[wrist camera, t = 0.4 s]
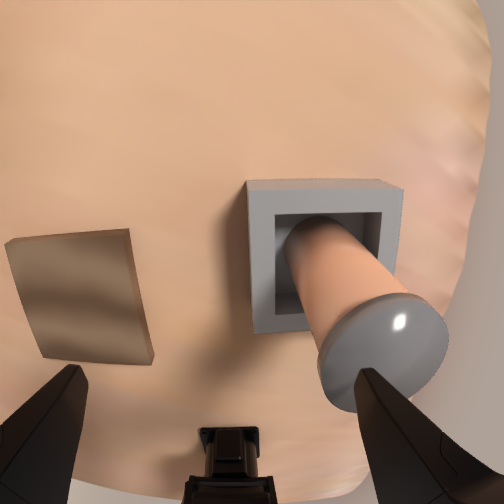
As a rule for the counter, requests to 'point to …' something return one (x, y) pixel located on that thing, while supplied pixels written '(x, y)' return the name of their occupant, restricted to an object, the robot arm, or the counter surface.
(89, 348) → the trivet
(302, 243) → the jar
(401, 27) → the counter surface
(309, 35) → the counter surface
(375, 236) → the holder
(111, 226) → the counter surface
